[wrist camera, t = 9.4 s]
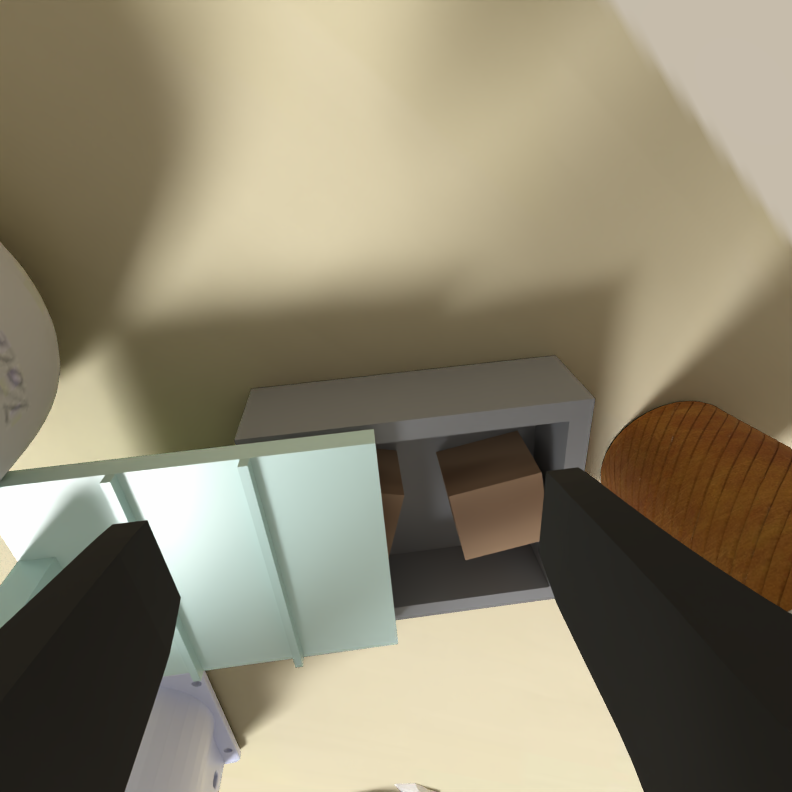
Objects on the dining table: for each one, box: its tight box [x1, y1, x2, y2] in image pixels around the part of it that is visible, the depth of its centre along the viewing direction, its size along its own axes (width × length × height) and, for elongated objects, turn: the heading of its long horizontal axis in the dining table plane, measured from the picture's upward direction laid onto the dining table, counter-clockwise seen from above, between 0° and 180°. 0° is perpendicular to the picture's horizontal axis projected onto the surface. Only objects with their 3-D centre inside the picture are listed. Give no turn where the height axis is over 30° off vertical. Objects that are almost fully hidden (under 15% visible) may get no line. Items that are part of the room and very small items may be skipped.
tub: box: [234, 355, 595, 620], centre depth 20 cm, size 12×10×4 cm
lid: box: [0, 429, 398, 682], centre depth 16 cm, size 12×10×5 cm
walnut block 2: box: [436, 431, 544, 560], centre depth 20 cm, size 4×4×3 cm
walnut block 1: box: [376, 449, 404, 558], centre depth 20 cm, size 4×4×3 cm
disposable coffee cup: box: [601, 401, 792, 614], centre depth 18 cm, size 10×10×12 cm
